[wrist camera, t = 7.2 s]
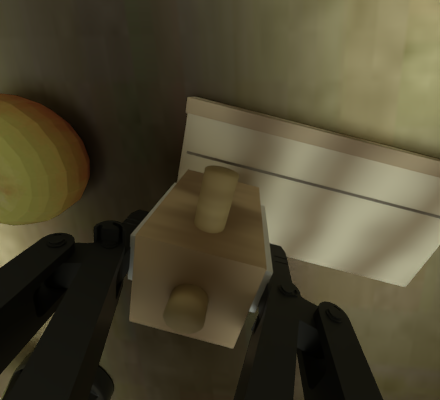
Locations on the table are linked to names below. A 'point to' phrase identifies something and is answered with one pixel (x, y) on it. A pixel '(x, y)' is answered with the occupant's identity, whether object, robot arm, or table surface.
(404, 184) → the board
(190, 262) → the beige wooden block
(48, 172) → the apple
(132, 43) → the table surface
